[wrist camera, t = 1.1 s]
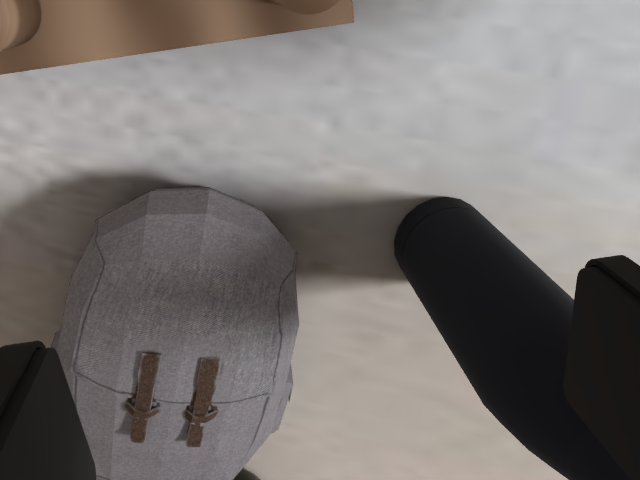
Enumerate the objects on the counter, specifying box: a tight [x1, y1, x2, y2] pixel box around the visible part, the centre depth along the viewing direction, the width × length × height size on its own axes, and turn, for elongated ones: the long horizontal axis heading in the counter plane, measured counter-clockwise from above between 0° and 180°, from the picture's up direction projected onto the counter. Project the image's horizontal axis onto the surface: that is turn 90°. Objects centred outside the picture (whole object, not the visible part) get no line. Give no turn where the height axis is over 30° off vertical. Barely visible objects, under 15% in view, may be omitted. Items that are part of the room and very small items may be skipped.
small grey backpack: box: [51, 187, 299, 480], centre depth 35 cm, size 15×8×20 cm
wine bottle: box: [394, 197, 630, 480], centre depth 26 cm, size 6×6×30 cm
